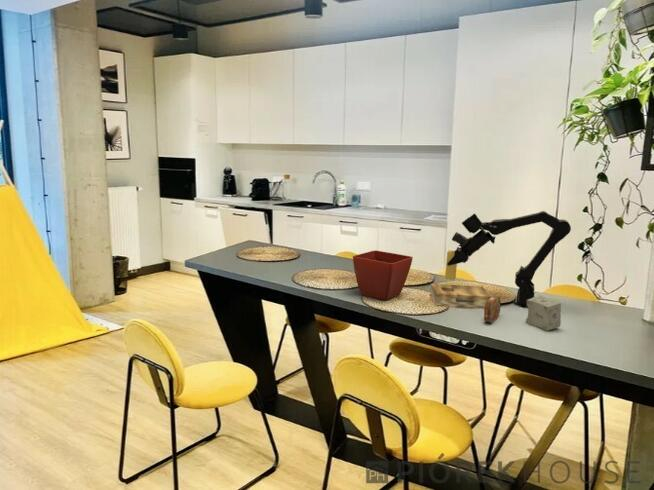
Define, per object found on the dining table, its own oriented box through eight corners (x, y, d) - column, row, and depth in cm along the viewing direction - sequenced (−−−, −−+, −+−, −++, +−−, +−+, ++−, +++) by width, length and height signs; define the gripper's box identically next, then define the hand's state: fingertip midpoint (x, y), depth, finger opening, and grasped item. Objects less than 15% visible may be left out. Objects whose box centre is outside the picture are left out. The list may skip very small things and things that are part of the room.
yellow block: (455, 278, 227) (458, 251, 225) (454, 280, 223) (456, 252, 221) (446, 276, 229) (448, 250, 226) (444, 279, 225) (447, 251, 223)
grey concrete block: (523, 323, 194) (526, 296, 192) (539, 321, 198) (542, 294, 196) (544, 332, 185) (547, 304, 183) (560, 329, 189) (564, 302, 187)
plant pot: (372, 285, 235) (374, 249, 232) (410, 294, 224) (413, 256, 221) (349, 294, 220) (351, 256, 216) (389, 304, 209) (392, 263, 206)
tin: (489, 325, 190) (492, 303, 188) (481, 323, 191) (483, 302, 190) (500, 315, 202) (502, 294, 201) (492, 313, 204) (494, 292, 202)
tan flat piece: (481, 297, 224) (482, 286, 224) (492, 309, 208) (493, 297, 207) (430, 294, 225) (431, 283, 224) (437, 306, 209) (438, 294, 208)
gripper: (467, 224, 229) (439, 245, 235) (462, 230, 212) (432, 253, 218) (483, 243, 228) (455, 265, 234) (480, 251, 210) (450, 274, 216)
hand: (448, 263), depth 225 cm, fingers closed on yellow block, 4 cm apart
